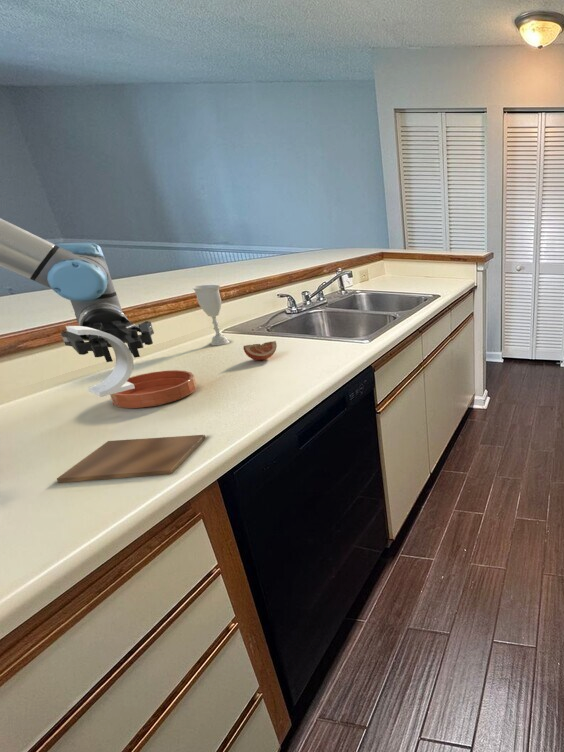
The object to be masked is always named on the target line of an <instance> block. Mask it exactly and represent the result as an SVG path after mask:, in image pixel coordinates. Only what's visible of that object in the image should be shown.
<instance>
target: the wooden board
mask: <svg viewBox="0 0 564 752" xmlns="http://www.w3.org/2000/svg"><path fill="white" fill-rule="evenodd" d="M205 440H206V435H205V434H193V435H179V436H178V435H177V436H163V437H150V438H149V437H148V438H132V439H117V440H108V441H106V442H105V443H103V444H102V445H101V446H99V447H98V448H96V449H95V450H94V451H92V452H91V453H90V454H89V455H87V456H85V457H84V458H83V459H81V460H80V461H79V462H77V463H76V464H74V465H73V466H71V467H70V468H69V469H67V470H66V471H64V473H62V474H60V476H58V477H57V478H56V481H57V483H59V484H60V483H71V482H85V481H96V480H112V479H122V478H134V477H135V478H136V477H147V476H161V475H172V474H173V473H174V472H175V471H176V470H177V469H178V468H179V467H180V466H181V464H183V462H185V461H186V459H187V458H188V457H189V456H190V455H191V454H192V453H193V452H194V451H195V450H196V449H197V448H198V447H199V446H200V445H201V444H202V443H203V441H205Z"/></svg>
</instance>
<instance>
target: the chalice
mask: <svg viewBox="0 0 564 752" xmlns="http://www.w3.org/2000/svg"><path fill="white" fill-rule="evenodd" d="M192 289H193V291H194V293H195V296H196V300H197V303H198V305H199V306H200V309H202V311H203V312H204V313H205V314H206V315H207V317H210V318H211V319H212V322H211V324H213V330H214V332H215V335H213V336H212V338H211V343H210V345H211V346H223V345H227V344H230V341H229V340H228V338H227V337H226V336H225V335H224V334H222V333H221V332H220V329H221V328H220V327H219V321H218V320H217V317H218V316H219V315H220V311H221V308H222V302H223V301H222V298H221V294H220V285H218V284H203V285H202V284H201V285H195V286H192Z"/></svg>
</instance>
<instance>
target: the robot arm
mask: <svg viewBox="0 0 564 752" xmlns="http://www.w3.org/2000/svg"><path fill="white" fill-rule="evenodd" d="M0 267H1V268H4V269H6V270H8V271H11V272H13V273H15V274H18V275H20V276H23V277H24V278H27V279H29V280H31V281H34V282H35V283H38V284H39V285H42V286H45V287H47V288H50V289H51V290H52V291H53V292H55V293H56V294H57V295H58V296H60V297H62V298H63V299H66V300H69V301H70V304H71V306H72V309H73V312H74V316H75V318H76V322H77V323H78V326H84V327H89V328H93V329H96V330H100V331H103V332H106V333H109V334H111V335H113V336H115V337H117V338H119V339H120V340H121V341H122V342H124V343H125V344H126V346H127V347H128V348H129V350H130V352H131V354H132V357H133V359H136V358H141V355H140V351H139V349H144V345H146V346H150V345H153V344H154V342H153V338H152V335H154V334H155V331H154V328H153V325H152V322H151V321H148V320H145V321H143V322H140V323H137V325H136V324H135V323H134V322H131V321H130V320H129V319H128V317H127V316H126V315H125V314H124V312H123V310H122V306H121V303H120V301H119V297H118V294H117V291H116V290H115V289H116V288H115V285H114V283H113V280H112V276H111V274H110V273H111V272H110V270H109V267H108V264H107V258H106V257H105V255H104V253H103V250H102V247H101V246H100V245H99V244H97V243H94V242H63V243H60V242H59V243H52V242H51V241H49V240H46V239H44V238H43V237H41V236H38V235H36V234H34V233H32V232H30V231H28V230H26V229H24V228H21V227H20V226H17V225H15V224H14V223H12V222H9V221H7V220H5V219H4V218H1V217H0ZM138 333H140V334H138ZM60 335H61V338H62V340H63V343H64V345H65V346H67V347H72V349H73V350H75V352H76V353H77V354H78V355H81V356H84V355H87V354H89V352H92V353H93V356H94V358H102V357H104V359H105V361H106V363H112V362H113V358H112V356H111V352H110V350H109V348H112V346H111V345H110V344H109V343H108V342H107V341H106V340H105V339H104V338H102V337H100V336H98V335H89V334H88V335H77V334H74V333H71V332H68V331H67V330H62V331H60Z"/></svg>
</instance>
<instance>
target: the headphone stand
mask: <svg viewBox="0 0 564 752" xmlns="http://www.w3.org/2000/svg"><path fill="white" fill-rule="evenodd" d="M65 328H66V331H68V332H71V333H74V334H77V335H88V334H89V335H98V336H100V337H102V338H104V339H105V340H106V341H107V342H108V343H109V344H110V345H111V346H112V347H111V348H112V350H113V352H114V355H115V362H114V363H115V364H114V367H113V369H112V371H111V372H110V374H109V375H108V376H107V377H105V379H104V380H102V381H100V382H98V383H96V384H94V385H92V386H88V387H87V390H88V392H89V393H90V394H93V395H95V396H98V397H99V398H103V397H107V396H110V395H111V394H114V393H118V392H122V391H126V390H130V389H134V388H135V387H134V384H132V383H130V382H127V380H128V379H129V378H130V377H132V373H133V371H134V356H133V355H132V353H131V351H130V350H129V348H128V345H127V343H124V342H122V341H121V340H120V339H119V338H117V337H115V336H113V335H111V334H109V333H106V332H103V331H100V330H96V329H93V328H89V327H84V326H80V325H65Z"/></svg>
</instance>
